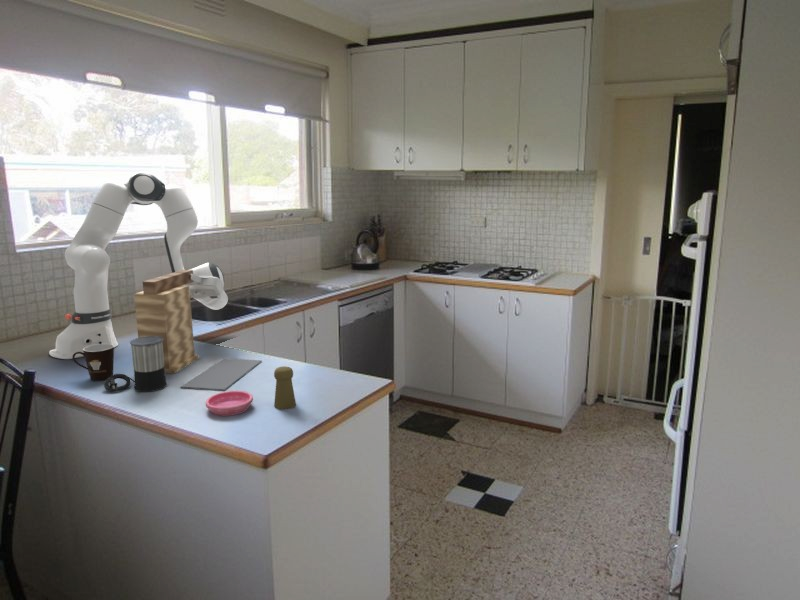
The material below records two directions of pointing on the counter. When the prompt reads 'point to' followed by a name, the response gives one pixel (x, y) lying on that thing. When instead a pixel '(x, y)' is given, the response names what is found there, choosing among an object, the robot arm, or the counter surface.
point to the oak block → (168, 324)
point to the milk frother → (143, 366)
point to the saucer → (229, 402)
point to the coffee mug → (98, 361)
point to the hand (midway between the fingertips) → (183, 275)
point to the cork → (284, 388)
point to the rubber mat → (221, 374)
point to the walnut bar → (166, 282)
